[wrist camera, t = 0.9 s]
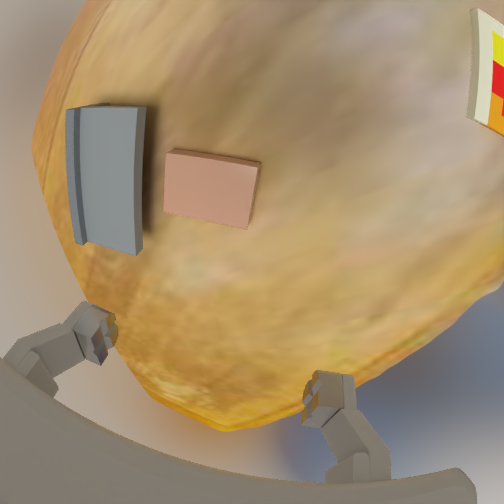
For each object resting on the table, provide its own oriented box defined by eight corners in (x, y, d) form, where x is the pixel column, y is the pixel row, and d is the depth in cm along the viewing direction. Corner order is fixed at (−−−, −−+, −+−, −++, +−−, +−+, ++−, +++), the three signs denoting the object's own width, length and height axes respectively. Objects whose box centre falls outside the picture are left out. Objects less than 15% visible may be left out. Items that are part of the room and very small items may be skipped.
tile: (175, 148, 41) (166, 152, 38) (261, 162, 40) (257, 167, 37) (172, 204, 46) (163, 212, 43) (250, 220, 46) (246, 229, 43)
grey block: (100, 103, 37) (65, 109, 30) (162, 104, 37) (131, 109, 29) (101, 221, 50) (75, 242, 43) (155, 235, 50) (131, 260, 42)
